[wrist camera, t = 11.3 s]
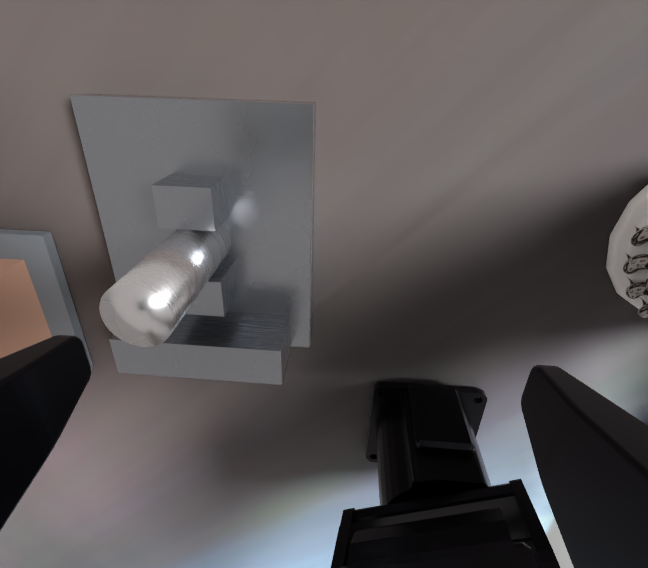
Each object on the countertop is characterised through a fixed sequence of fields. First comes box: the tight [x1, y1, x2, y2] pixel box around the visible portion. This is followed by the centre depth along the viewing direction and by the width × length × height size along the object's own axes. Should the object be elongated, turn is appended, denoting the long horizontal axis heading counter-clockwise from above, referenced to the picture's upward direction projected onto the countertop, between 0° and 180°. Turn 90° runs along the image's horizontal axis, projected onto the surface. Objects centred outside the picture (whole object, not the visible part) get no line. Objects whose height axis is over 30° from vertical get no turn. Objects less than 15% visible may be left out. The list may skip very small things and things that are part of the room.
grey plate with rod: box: [70, 94, 315, 385], centre depth 16 cm, size 12×10×8 cm
